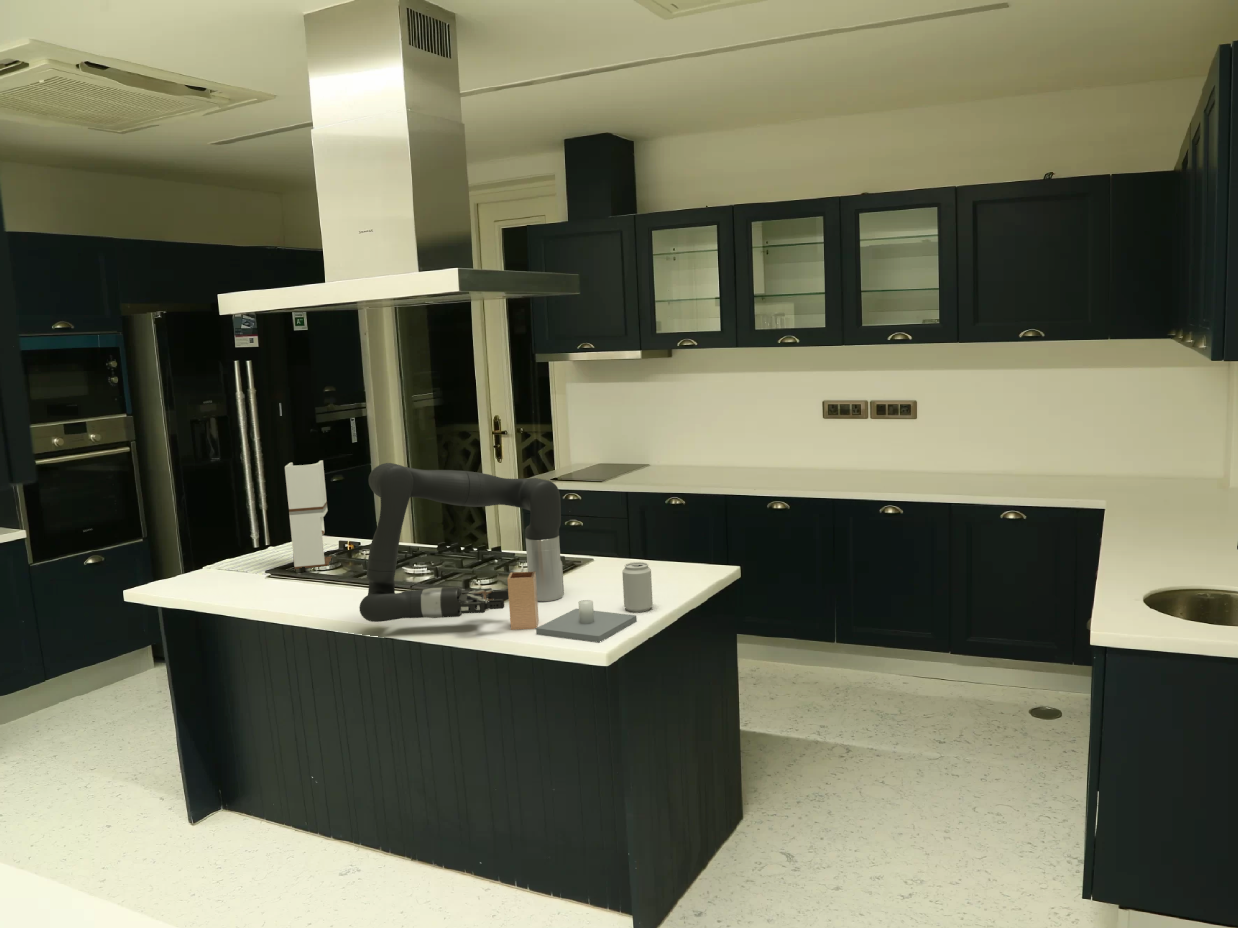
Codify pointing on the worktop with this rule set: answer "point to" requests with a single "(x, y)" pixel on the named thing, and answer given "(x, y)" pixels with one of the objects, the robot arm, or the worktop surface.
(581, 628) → the duct base
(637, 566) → the can
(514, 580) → the tan box
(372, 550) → the robot arm
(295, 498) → the brown-banded white column
